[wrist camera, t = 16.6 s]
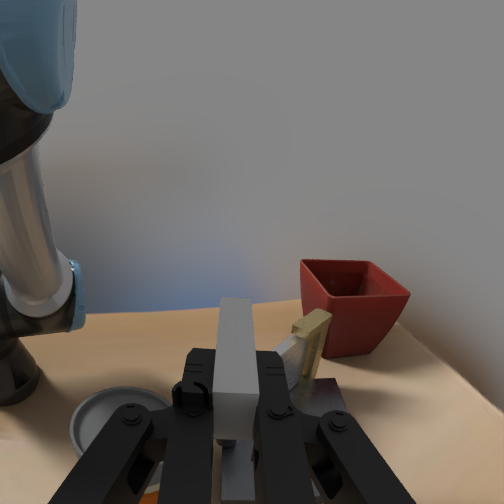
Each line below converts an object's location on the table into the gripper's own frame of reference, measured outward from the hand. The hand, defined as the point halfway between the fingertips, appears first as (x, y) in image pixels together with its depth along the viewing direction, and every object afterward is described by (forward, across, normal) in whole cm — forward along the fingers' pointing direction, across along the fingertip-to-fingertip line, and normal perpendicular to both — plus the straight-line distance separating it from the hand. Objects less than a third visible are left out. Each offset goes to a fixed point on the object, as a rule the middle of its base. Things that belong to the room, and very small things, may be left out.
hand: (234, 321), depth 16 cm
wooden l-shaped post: (+26, +13, -32) cm, 43 cm away
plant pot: (+43, +26, -32) cm, 60 cm away
